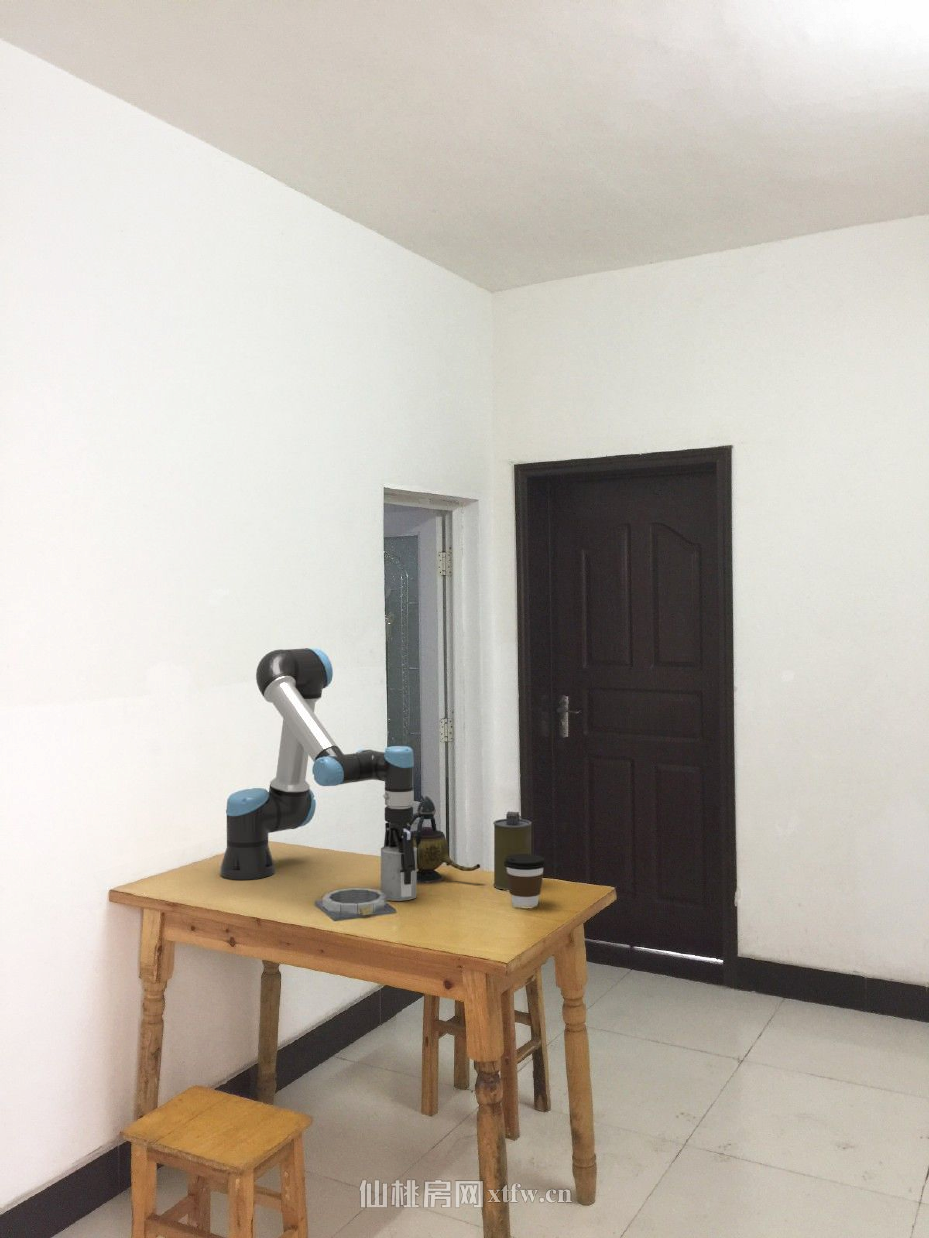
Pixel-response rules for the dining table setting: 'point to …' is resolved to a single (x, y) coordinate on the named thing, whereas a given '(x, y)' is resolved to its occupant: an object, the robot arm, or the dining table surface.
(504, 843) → the canister
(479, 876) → the dining table surface
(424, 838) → the teapot
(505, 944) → the dining table surface
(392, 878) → the grey speckled cylinder
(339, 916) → the socket
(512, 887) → the coffee cup
